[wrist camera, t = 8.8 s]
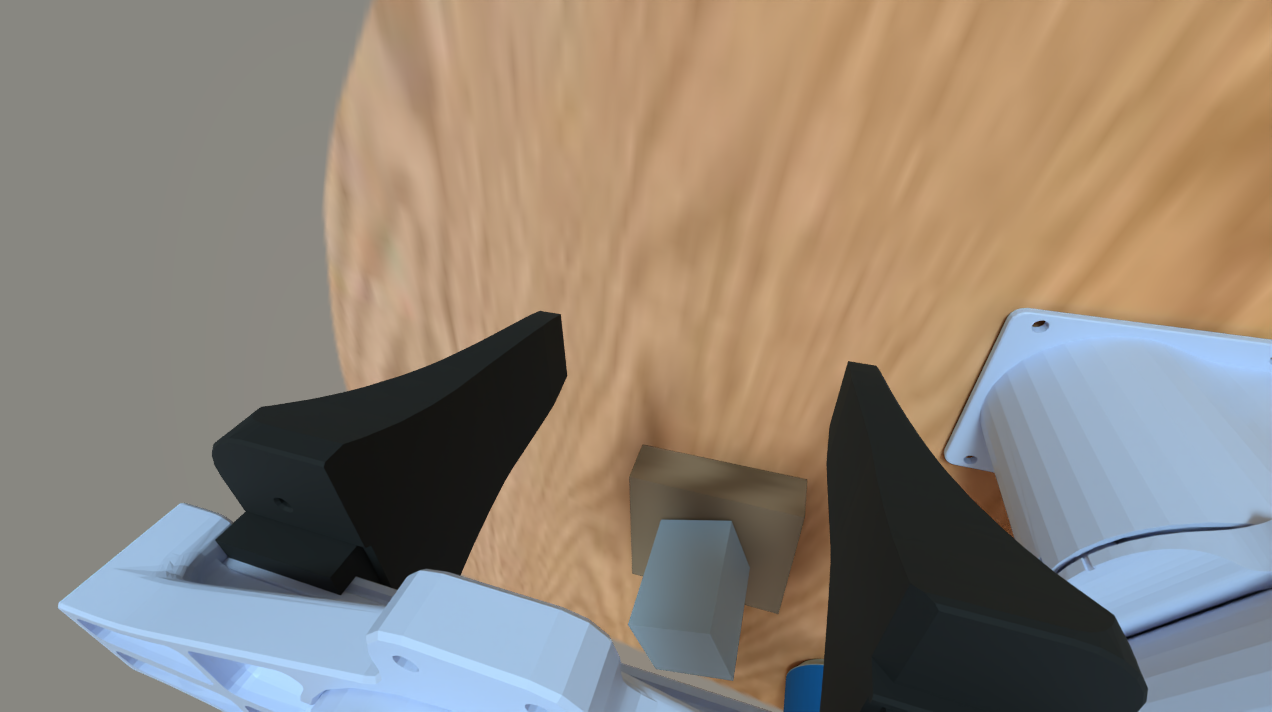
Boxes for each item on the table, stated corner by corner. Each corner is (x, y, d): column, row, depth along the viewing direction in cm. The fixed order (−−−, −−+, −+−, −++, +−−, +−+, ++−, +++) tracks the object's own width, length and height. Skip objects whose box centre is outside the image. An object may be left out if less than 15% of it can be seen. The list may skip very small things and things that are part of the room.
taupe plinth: (807, 472, 28) (804, 517, 26) (782, 569, 34) (778, 614, 31) (645, 438, 31) (629, 476, 28) (645, 534, 36) (632, 573, 34)
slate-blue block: (731, 520, 28) (709, 634, 23) (749, 567, 30) (733, 680, 25) (661, 519, 29) (628, 624, 25) (682, 563, 31) (655, 668, 27)
